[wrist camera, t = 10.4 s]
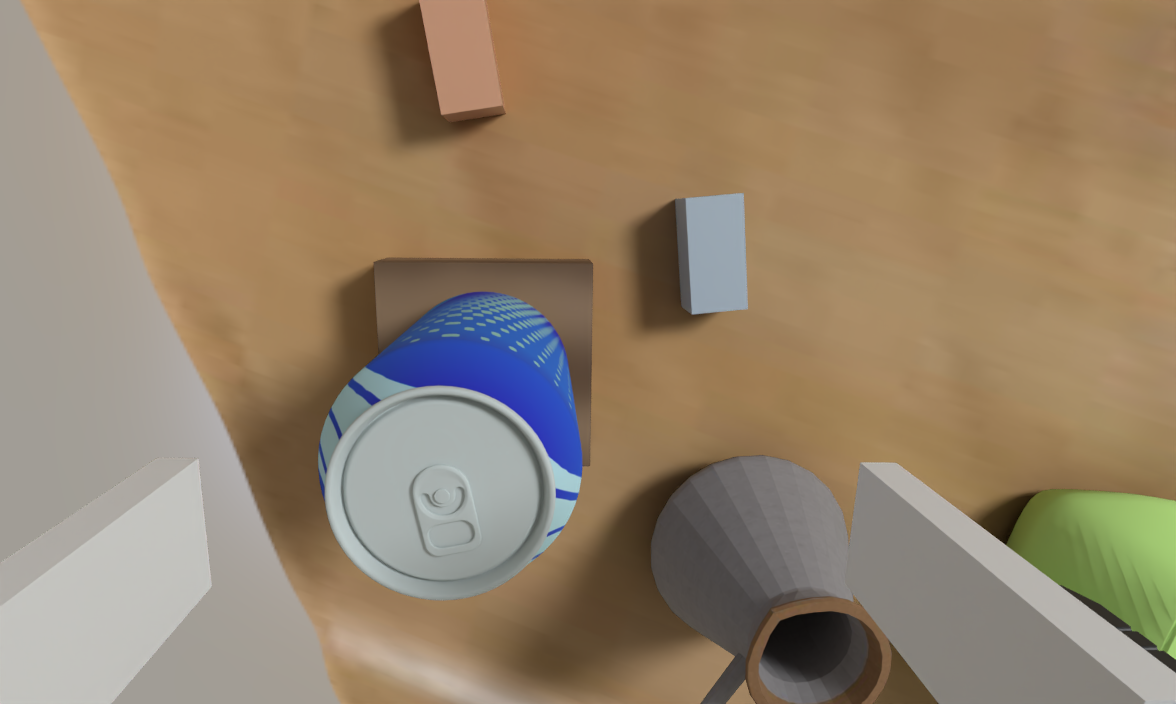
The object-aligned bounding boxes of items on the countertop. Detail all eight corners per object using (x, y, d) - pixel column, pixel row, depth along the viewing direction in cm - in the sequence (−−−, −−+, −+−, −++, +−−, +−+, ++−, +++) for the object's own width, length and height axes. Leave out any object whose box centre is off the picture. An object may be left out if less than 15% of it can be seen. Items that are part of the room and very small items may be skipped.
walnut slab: (387, 257, 36) (373, 262, 33) (588, 259, 37) (593, 263, 34) (397, 449, 38) (385, 468, 35) (586, 446, 39) (590, 466, 36)
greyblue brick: (674, 199, 37) (685, 198, 34) (727, 194, 37) (743, 193, 34) (680, 306, 38) (692, 314, 35) (732, 301, 38) (747, 309, 35)
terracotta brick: (426, 0, 34) (415, -20, 31) (484, -9, 34) (479, -30, 31) (449, 122, 35) (441, 114, 32) (506, 114, 35) (502, 105, 32)
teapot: (1153, 736, 46) (1384, 934, 34) (884, 714, 45) (1021, 916, 32) (1242, 493, 43) (1539, 613, 30) (953, 458, 41) (1139, 571, 28)
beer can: (378, 399, 35) (240, 555, 19) (452, 258, 33) (371, 300, 18) (520, 470, 36) (502, 671, 20) (596, 337, 35) (640, 441, 19)
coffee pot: (755, 400, 39) (881, 514, 25) (861, 535, 41) (1034, 712, 27) (481, 615, 41) (447, 841, 26) (598, 732, 43) (626, 999, 29)
